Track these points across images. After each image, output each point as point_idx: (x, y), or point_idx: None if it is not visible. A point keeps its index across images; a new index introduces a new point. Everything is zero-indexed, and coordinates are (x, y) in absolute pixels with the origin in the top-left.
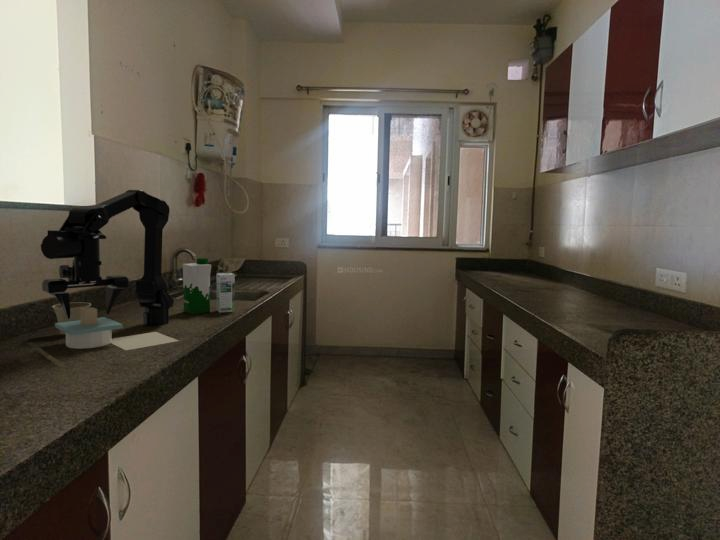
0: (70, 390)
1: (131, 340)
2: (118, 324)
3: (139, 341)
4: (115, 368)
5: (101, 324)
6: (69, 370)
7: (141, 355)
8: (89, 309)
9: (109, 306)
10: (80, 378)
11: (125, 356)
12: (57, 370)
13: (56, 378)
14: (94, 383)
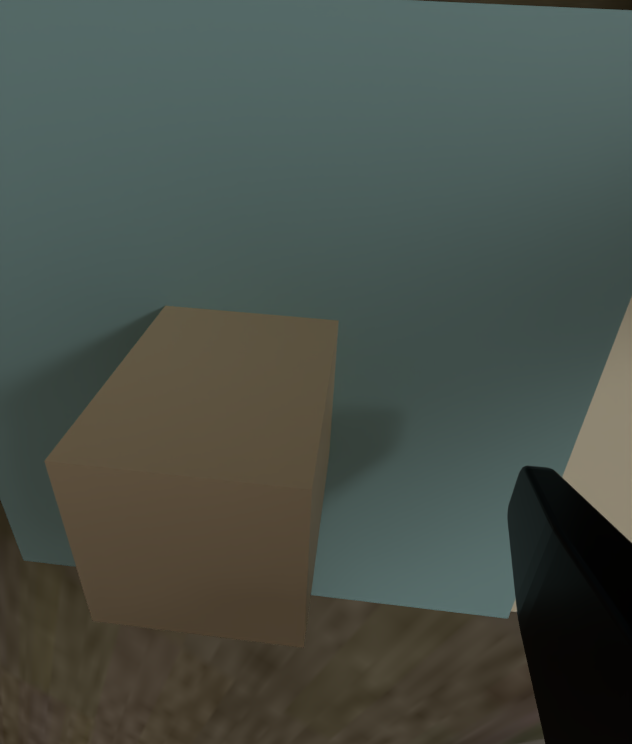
0: (61, 736)
1: (585, 437)
2: (474, 603)
3: (598, 499)
4: (241, 691)
5: (349, 505)
6: (78, 611)
7: (424, 643)
8: (181, 620)
9: (541, 691)
10: (102, 691)
11: (357, 611)
12: (32, 583)
13: (26, 648)
14: (133, 739)
